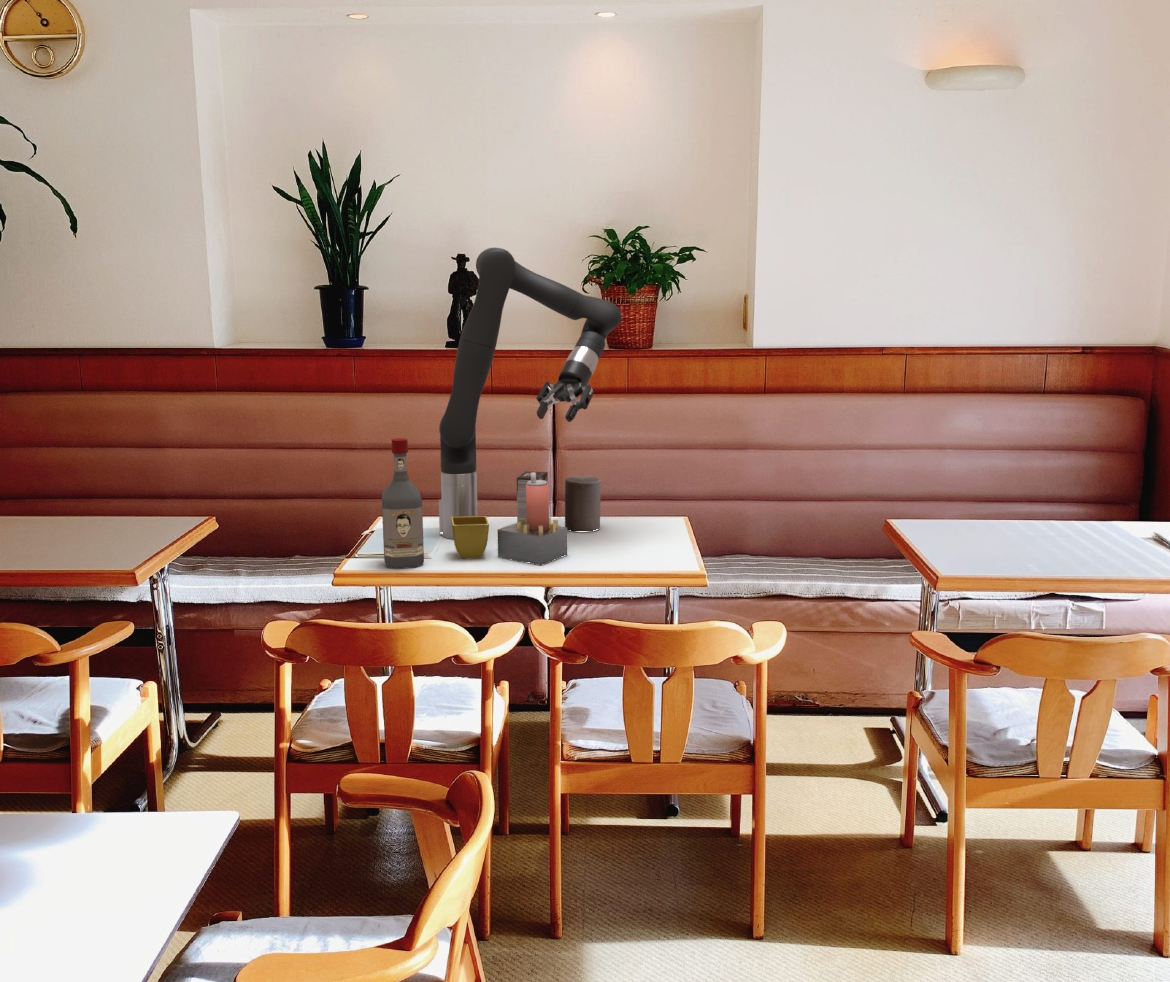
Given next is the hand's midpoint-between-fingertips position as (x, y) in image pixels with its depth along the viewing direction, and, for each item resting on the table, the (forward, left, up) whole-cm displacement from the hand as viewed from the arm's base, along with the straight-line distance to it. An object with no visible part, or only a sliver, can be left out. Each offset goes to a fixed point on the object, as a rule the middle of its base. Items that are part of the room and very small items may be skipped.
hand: (553, 418), depth 258 cm
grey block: (-1, -11, -33) cm, 34 cm away
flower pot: (-12, -19, -33) cm, 40 cm away
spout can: (+2, -10, -26) cm, 28 cm away
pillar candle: (-4, +19, -33) cm, 38 cm away
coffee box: (-12, +7, -33) cm, 36 cm away
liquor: (-21, -33, -33) cm, 51 cm away
